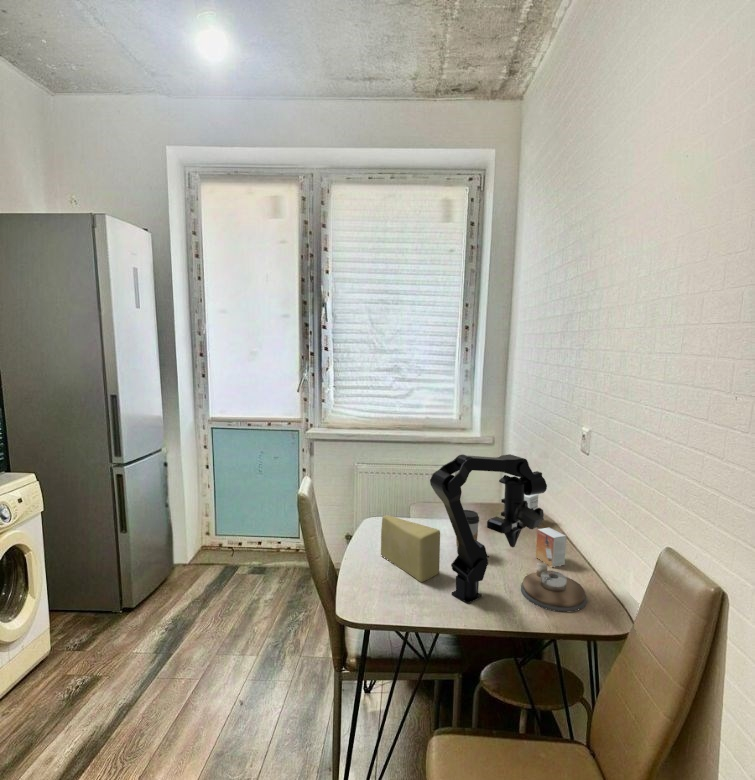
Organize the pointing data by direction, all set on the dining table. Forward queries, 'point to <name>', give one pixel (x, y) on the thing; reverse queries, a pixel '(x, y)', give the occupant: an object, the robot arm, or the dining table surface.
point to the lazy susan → (559, 599)
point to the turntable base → (550, 605)
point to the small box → (551, 547)
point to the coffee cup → (471, 523)
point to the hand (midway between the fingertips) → (512, 546)
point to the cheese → (411, 547)
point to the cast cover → (553, 581)
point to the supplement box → (532, 501)
